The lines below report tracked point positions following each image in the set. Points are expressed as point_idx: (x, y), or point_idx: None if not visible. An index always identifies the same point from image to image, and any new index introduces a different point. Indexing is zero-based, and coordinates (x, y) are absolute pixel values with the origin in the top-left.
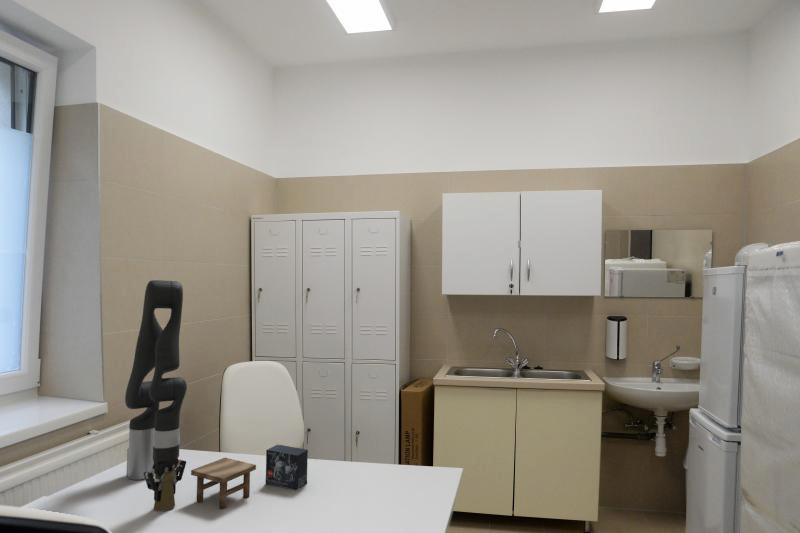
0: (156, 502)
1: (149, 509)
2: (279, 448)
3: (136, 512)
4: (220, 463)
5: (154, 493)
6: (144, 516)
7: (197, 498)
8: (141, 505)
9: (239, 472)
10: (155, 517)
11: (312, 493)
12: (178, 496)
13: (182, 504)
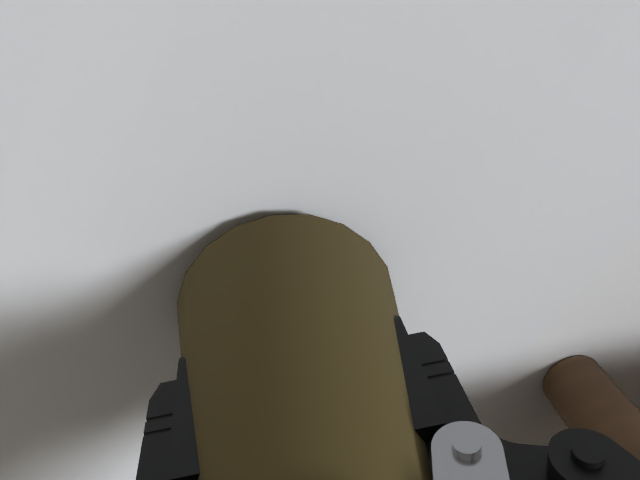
0: None
1: (156, 225)
2: None
3: (3, 195)
4: None
5: (140, 469)
6: (46, 343)
7: (561, 409)
8: (128, 34)
9: None
10: (124, 421)
11: None
12: (564, 131)
13: (443, 339)
